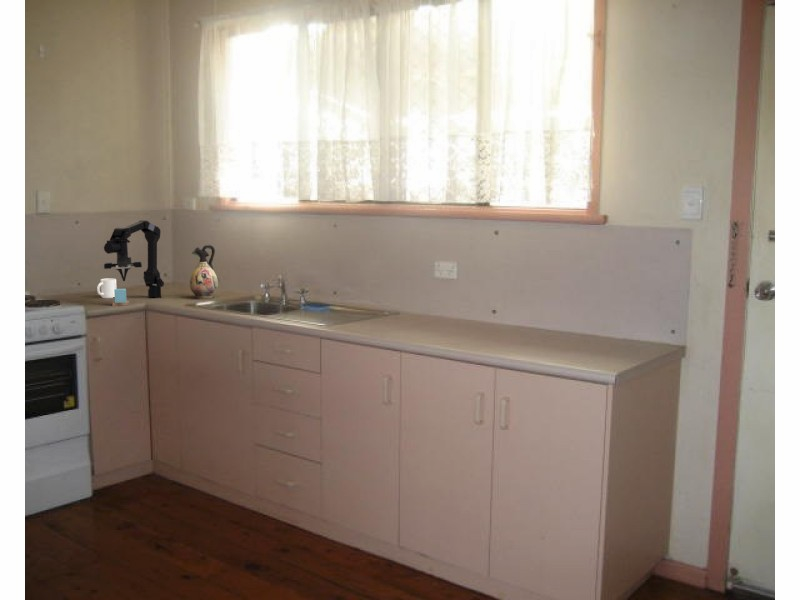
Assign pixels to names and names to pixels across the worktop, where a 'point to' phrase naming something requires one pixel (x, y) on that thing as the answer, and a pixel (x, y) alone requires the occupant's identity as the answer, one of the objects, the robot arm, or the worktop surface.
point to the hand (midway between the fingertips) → (124, 281)
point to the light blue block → (120, 295)
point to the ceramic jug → (204, 275)
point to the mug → (107, 288)
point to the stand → (121, 303)
